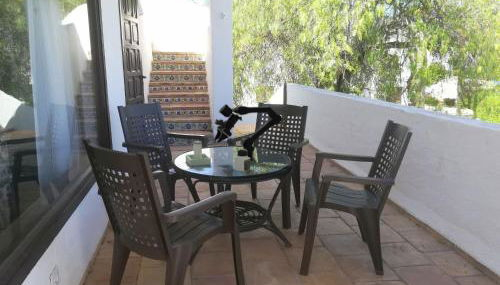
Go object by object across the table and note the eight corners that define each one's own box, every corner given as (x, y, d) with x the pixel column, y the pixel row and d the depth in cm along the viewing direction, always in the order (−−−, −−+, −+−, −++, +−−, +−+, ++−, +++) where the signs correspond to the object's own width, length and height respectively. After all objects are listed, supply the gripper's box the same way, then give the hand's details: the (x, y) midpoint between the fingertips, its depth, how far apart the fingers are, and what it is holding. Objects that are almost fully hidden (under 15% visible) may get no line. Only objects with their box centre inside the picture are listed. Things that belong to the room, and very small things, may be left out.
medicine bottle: (244, 172, 227) (244, 151, 225) (234, 170, 231) (234, 150, 228) (250, 169, 233) (250, 149, 231) (240, 167, 237) (240, 148, 234)
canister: (203, 162, 246) (203, 141, 243) (197, 163, 242) (197, 143, 239) (198, 160, 249) (198, 140, 246) (192, 162, 245) (191, 141, 243)
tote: (185, 161, 250) (185, 154, 249) (204, 160, 254) (204, 153, 254) (190, 167, 237) (190, 159, 236) (210, 165, 241) (210, 158, 240)
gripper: (218, 113, 255) (203, 131, 254) (224, 115, 238) (209, 135, 237) (231, 123, 259) (216, 142, 258) (238, 126, 241) (223, 146, 240)
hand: (216, 141), depth 248 cm, fingers open, 9 cm apart
